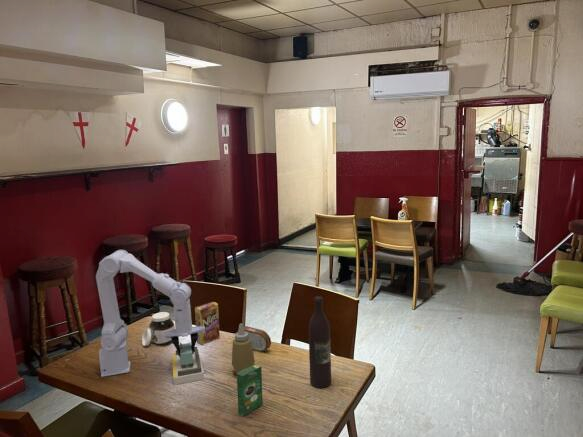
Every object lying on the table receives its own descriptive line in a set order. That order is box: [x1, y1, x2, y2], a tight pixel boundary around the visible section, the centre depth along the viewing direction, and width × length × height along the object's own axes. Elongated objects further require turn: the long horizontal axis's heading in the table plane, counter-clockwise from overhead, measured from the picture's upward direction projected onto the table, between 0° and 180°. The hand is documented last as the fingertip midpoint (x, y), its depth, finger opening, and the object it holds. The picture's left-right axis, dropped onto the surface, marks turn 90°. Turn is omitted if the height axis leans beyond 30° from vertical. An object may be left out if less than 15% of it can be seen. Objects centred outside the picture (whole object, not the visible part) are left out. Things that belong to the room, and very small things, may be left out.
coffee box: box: [236, 363, 264, 417], centre depth 133 cm, size 8×3×13 cm, turn 137°
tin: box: [243, 325, 272, 353], centre depth 171 cm, size 15×3×8 cm, turn 59°
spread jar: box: [141, 311, 175, 347], centre depth 179 cm, size 12×11×12 cm
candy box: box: [194, 301, 221, 346], centre depth 180 cm, size 9×4×15 cm, turn 134°
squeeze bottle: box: [231, 323, 255, 375], centre depth 154 cm, size 8×8×18 cm
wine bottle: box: [308, 295, 332, 389], centre depth 144 cm, size 7×7×30 cm
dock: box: [171, 346, 205, 386], centre depth 158 cm, size 10×18×4 cm, turn 17°
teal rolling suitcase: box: [179, 342, 194, 368], centre depth 157 cm, size 4×8×7 cm, turn 17°
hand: (186, 354), depth 157 cm, fingers closed on teal rolling suitcase, 4 cm apart
